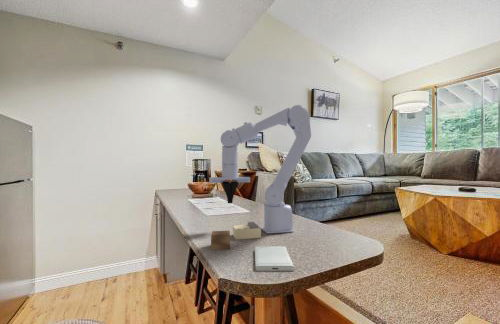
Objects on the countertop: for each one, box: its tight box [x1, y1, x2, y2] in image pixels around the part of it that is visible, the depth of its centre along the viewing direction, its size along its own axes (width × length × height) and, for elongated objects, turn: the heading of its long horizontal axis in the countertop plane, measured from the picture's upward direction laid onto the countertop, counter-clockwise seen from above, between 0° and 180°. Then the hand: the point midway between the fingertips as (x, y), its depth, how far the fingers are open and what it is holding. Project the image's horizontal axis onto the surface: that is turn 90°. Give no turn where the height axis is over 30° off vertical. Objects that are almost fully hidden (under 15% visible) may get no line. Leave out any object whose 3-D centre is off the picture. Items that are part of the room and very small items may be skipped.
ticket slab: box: [232, 221, 262, 240], centre depth 74 cm, size 8×6×4 cm
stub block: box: [210, 230, 231, 251], centre depth 64 cm, size 5×4×4 cm
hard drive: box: [254, 245, 295, 272], centre depth 55 cm, size 2×8×12 cm
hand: (229, 203), depth 83 cm, fingers closed
